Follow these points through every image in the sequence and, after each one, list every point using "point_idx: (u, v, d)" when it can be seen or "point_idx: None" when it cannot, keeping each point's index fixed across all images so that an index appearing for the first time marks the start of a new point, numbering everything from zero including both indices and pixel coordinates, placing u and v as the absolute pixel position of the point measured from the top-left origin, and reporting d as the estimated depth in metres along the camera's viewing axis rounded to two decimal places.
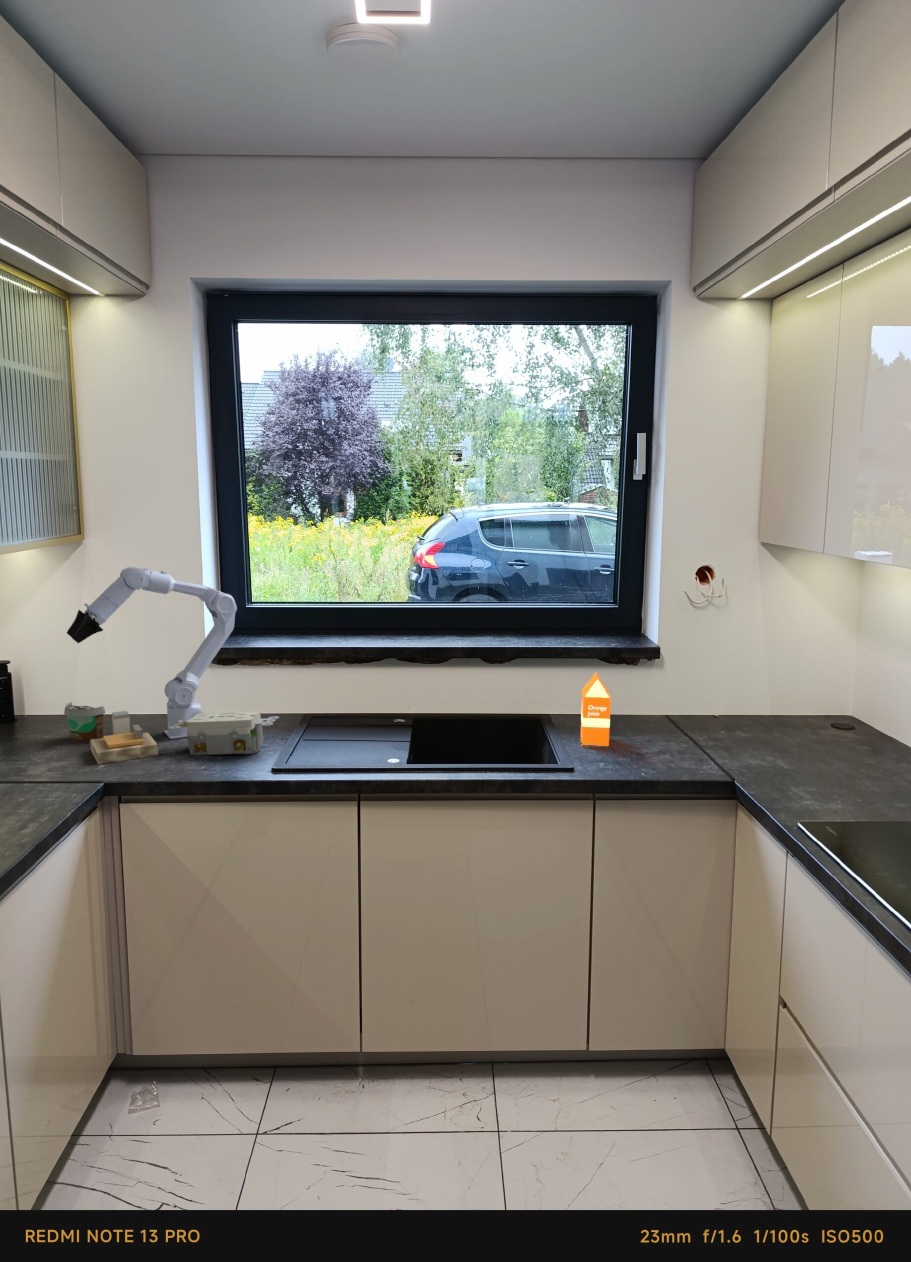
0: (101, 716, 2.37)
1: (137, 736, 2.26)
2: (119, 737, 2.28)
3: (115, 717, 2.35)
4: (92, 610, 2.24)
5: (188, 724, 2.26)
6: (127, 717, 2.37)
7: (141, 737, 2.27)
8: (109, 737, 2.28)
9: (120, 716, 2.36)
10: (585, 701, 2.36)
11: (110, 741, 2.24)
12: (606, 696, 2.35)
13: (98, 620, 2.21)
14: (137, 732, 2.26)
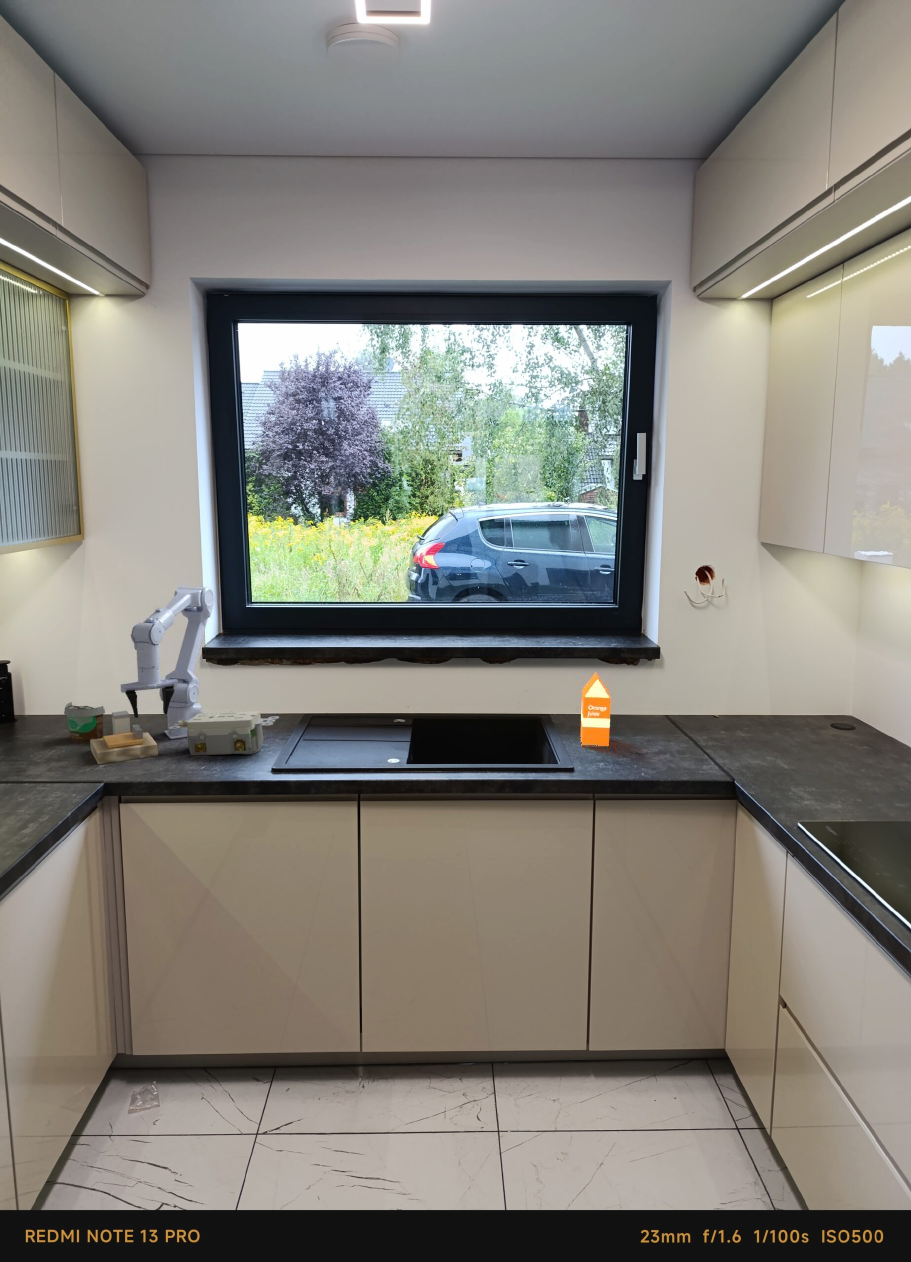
0: (101, 716, 2.37)
1: (137, 736, 2.26)
2: (119, 737, 2.28)
3: (115, 717, 2.35)
4: (161, 684, 2.28)
5: (188, 724, 2.26)
6: (127, 717, 2.37)
7: (141, 737, 2.27)
8: (109, 737, 2.28)
9: (120, 716, 2.36)
10: (585, 701, 2.36)
11: (110, 741, 2.24)
12: (606, 696, 2.35)
13: None
14: (137, 732, 2.26)
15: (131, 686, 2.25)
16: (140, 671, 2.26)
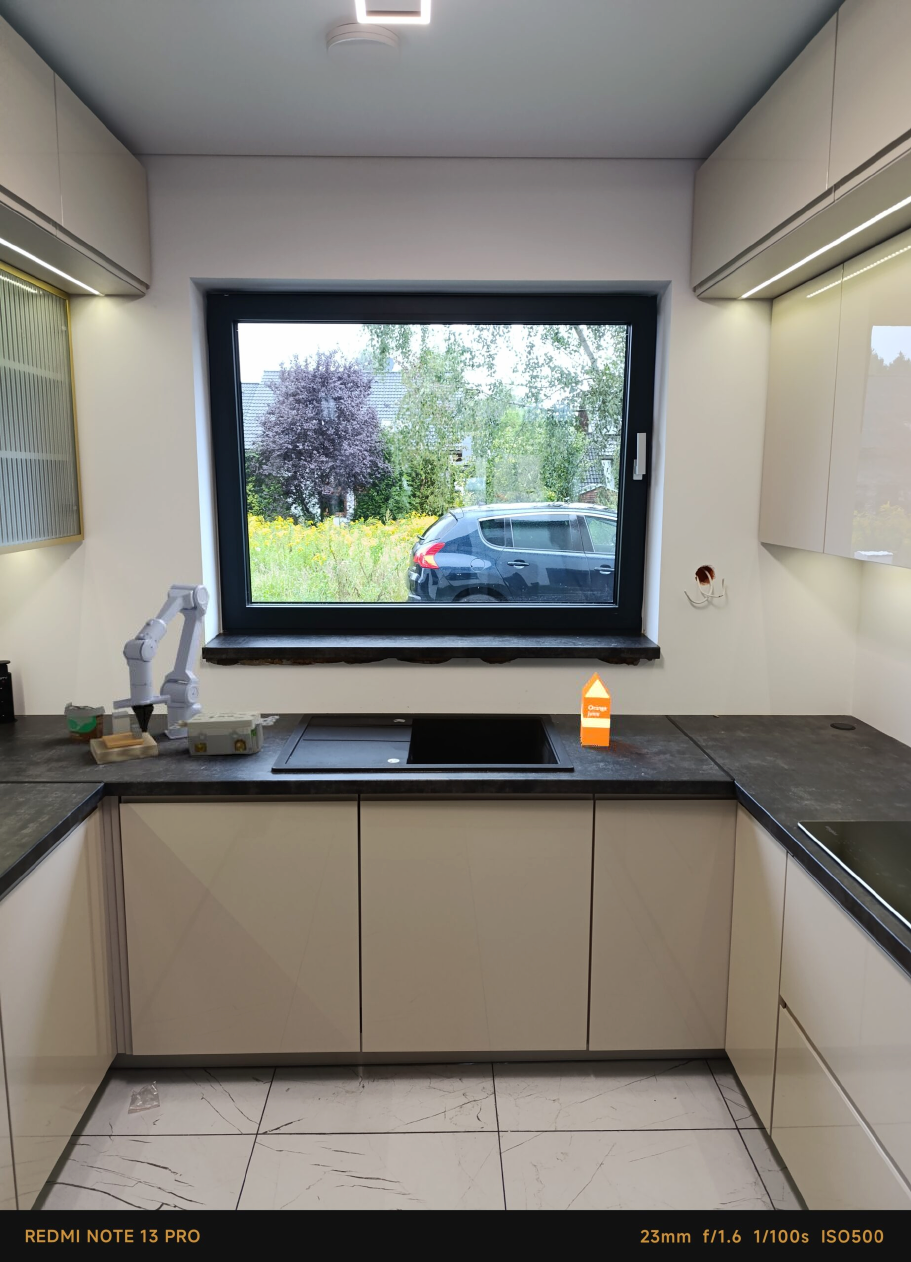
0: (101, 716, 2.37)
1: (136, 736, 2.26)
2: (118, 737, 2.28)
3: (115, 717, 2.35)
4: (154, 700, 2.28)
5: (188, 724, 2.26)
6: (127, 717, 2.37)
7: (140, 737, 2.27)
8: (108, 737, 2.28)
9: (120, 716, 2.36)
10: (585, 701, 2.36)
11: (109, 741, 2.24)
12: (606, 696, 2.35)
13: None
14: (136, 732, 2.26)
15: (124, 703, 2.25)
16: (133, 688, 2.25)
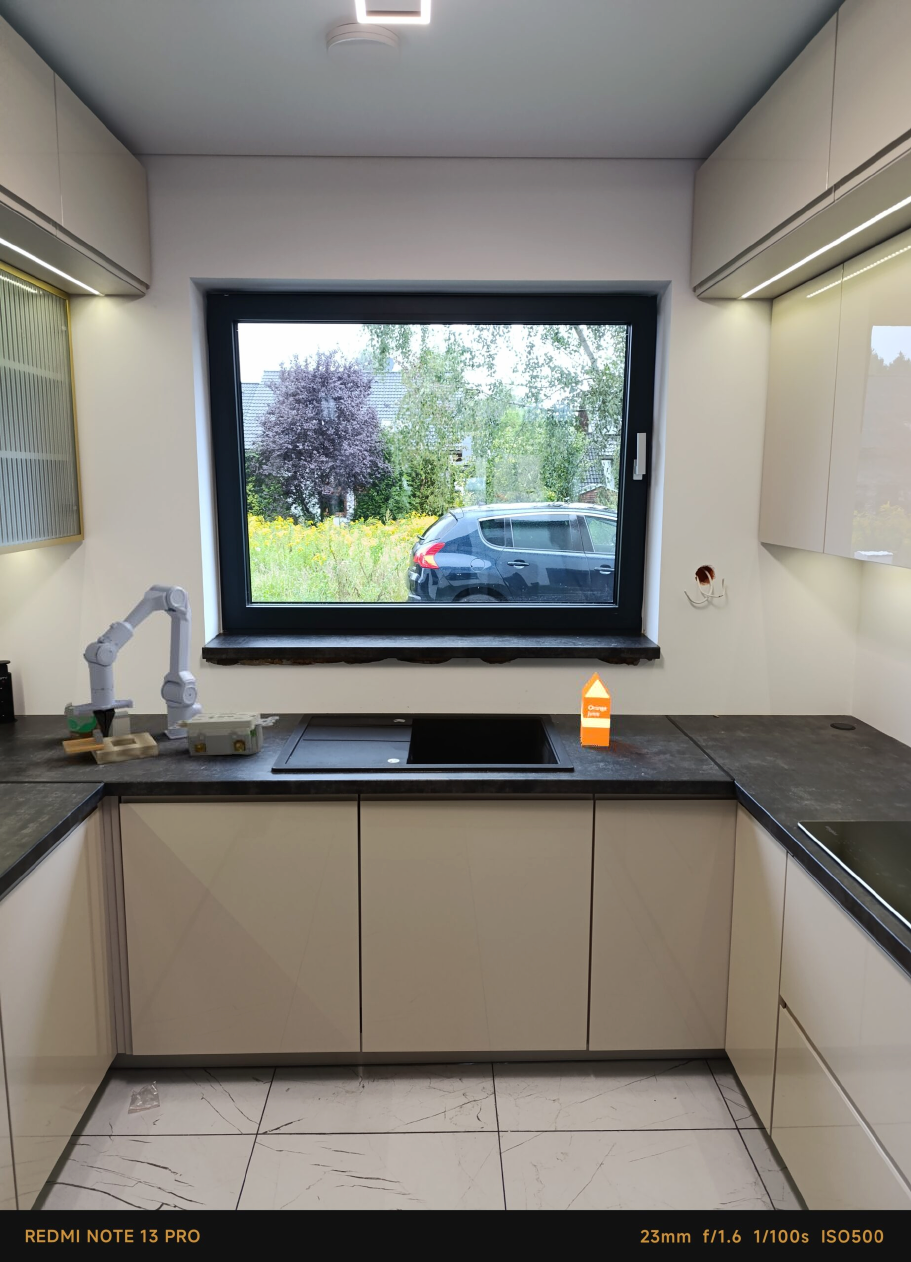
0: None
1: (97, 741, 2.21)
2: (79, 742, 2.23)
3: (115, 717, 2.35)
4: (116, 705, 2.23)
5: (188, 724, 2.26)
6: (127, 717, 2.37)
7: (101, 742, 2.22)
8: (69, 742, 2.23)
9: (120, 716, 2.36)
10: (585, 701, 2.36)
11: (69, 747, 2.19)
12: (606, 696, 2.35)
13: None
14: (97, 737, 2.21)
15: (84, 708, 2.20)
16: (93, 692, 2.20)
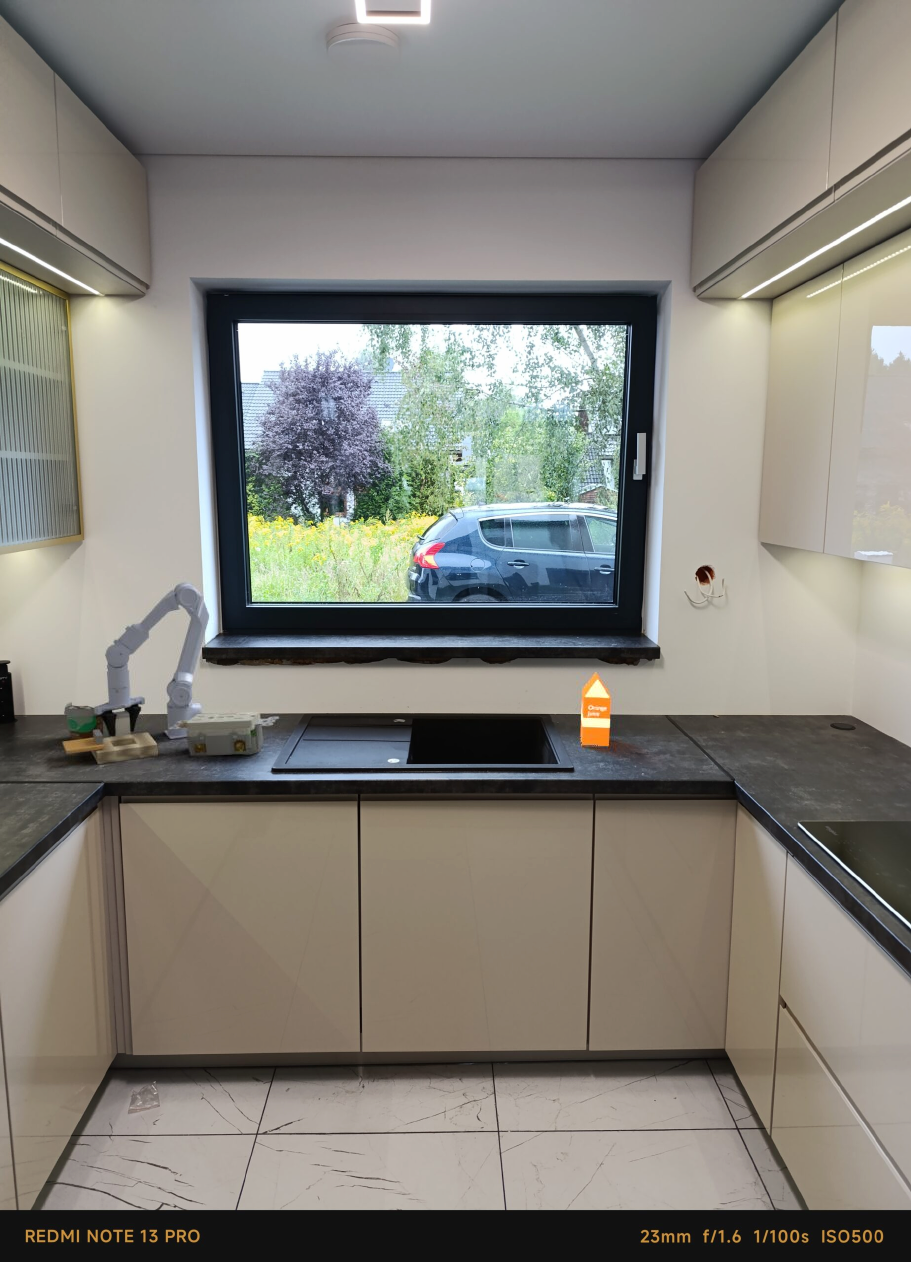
0: None
1: (97, 741, 2.21)
2: (79, 742, 2.23)
3: None
4: (133, 702, 2.38)
5: (188, 725, 2.25)
6: (127, 717, 2.37)
7: (101, 742, 2.22)
8: (69, 742, 2.23)
9: (120, 716, 2.36)
10: (585, 701, 2.36)
11: (69, 747, 2.19)
12: (606, 696, 2.35)
13: None
14: (97, 737, 2.21)
15: (107, 707, 2.32)
16: (114, 692, 2.34)
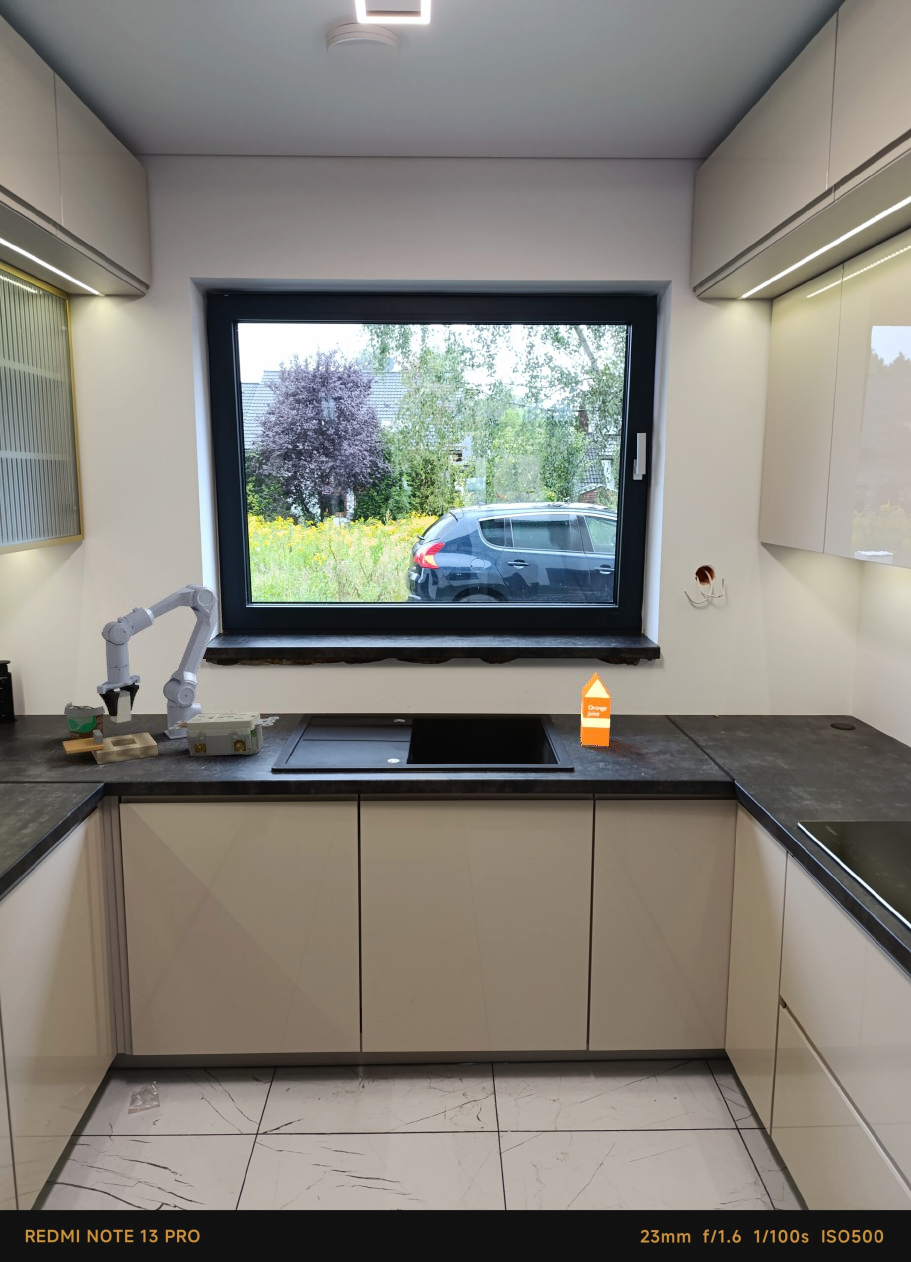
0: (101, 716, 2.37)
1: (97, 741, 2.21)
2: (79, 742, 2.23)
3: None
4: (132, 680, 2.33)
5: (188, 725, 2.25)
6: (128, 695, 2.32)
7: (101, 742, 2.22)
8: (69, 742, 2.23)
9: (121, 695, 2.31)
10: (585, 701, 2.36)
11: (69, 747, 2.19)
12: (606, 696, 2.35)
13: None
14: (97, 737, 2.21)
15: (110, 686, 2.27)
16: (116, 670, 2.28)
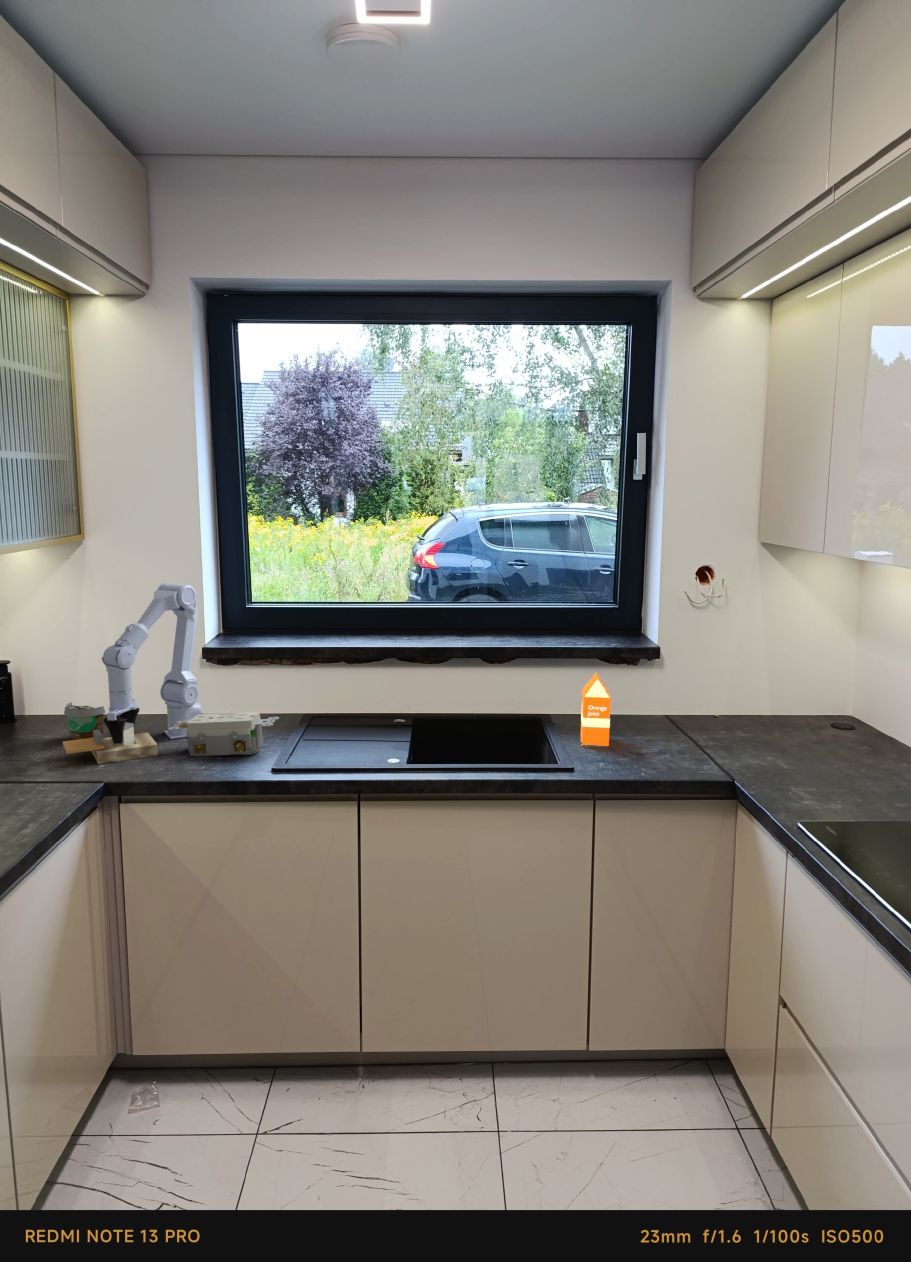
0: (101, 716, 2.37)
1: (97, 741, 2.21)
2: (79, 742, 2.23)
3: None
4: (133, 704, 2.29)
5: (188, 725, 2.25)
6: (132, 727, 2.27)
7: (101, 742, 2.22)
8: (69, 742, 2.23)
9: (127, 727, 2.26)
10: (585, 701, 2.36)
11: (69, 747, 2.19)
12: (606, 696, 2.35)
13: None
14: (97, 737, 2.21)
15: (120, 712, 2.21)
16: (122, 695, 2.23)
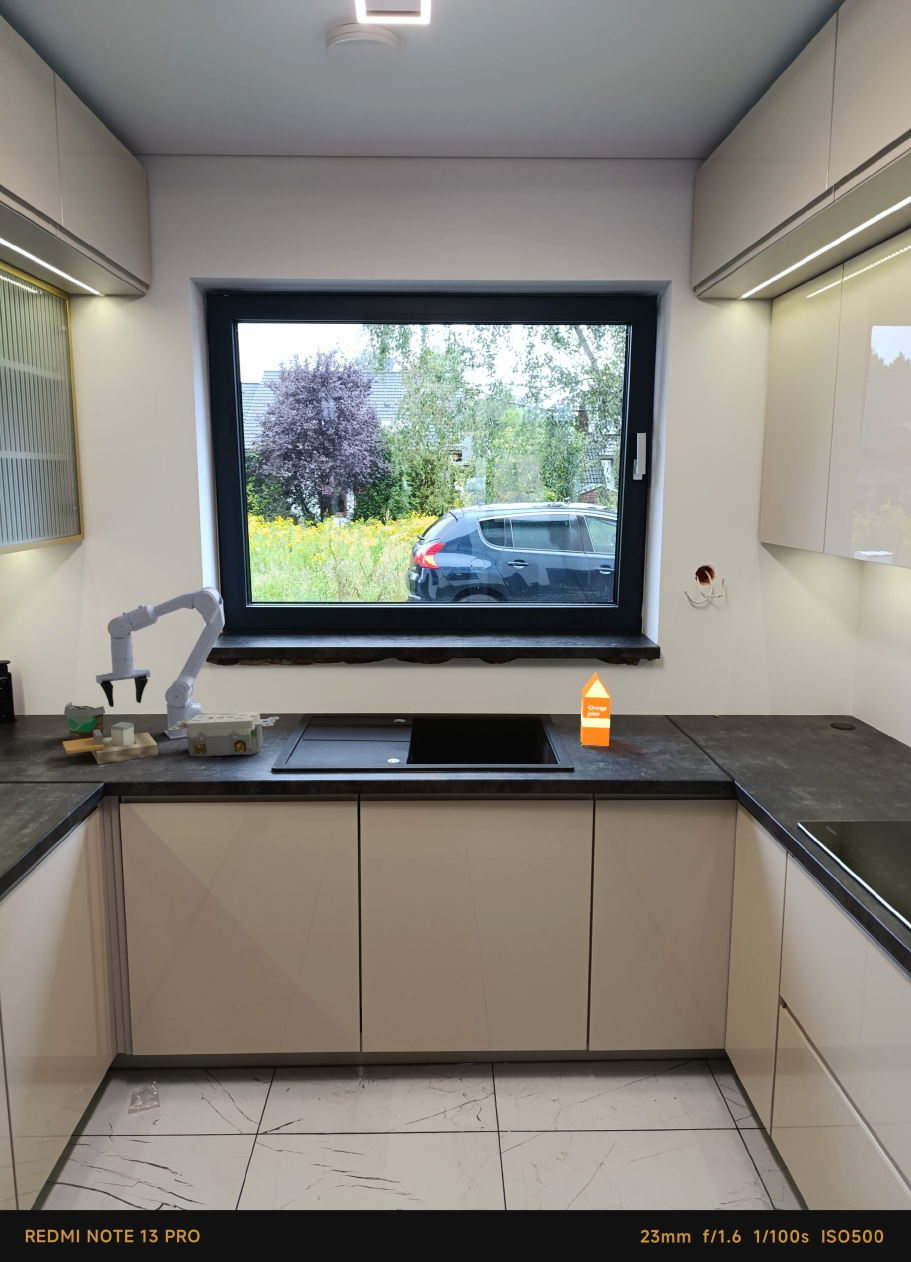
0: (101, 716, 2.37)
1: (97, 741, 2.21)
2: (79, 742, 2.23)
3: (123, 728, 2.24)
4: (135, 674, 2.40)
5: (188, 725, 2.25)
6: (132, 727, 2.27)
7: (101, 742, 2.22)
8: (69, 742, 2.23)
9: (127, 727, 2.26)
10: (585, 701, 2.36)
11: (69, 747, 2.19)
12: (606, 696, 2.35)
13: None
14: (97, 737, 2.21)
15: (107, 677, 2.36)
16: (115, 662, 2.37)
